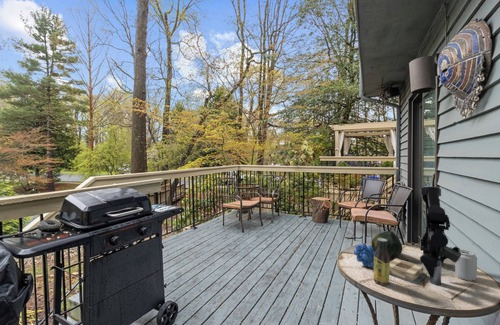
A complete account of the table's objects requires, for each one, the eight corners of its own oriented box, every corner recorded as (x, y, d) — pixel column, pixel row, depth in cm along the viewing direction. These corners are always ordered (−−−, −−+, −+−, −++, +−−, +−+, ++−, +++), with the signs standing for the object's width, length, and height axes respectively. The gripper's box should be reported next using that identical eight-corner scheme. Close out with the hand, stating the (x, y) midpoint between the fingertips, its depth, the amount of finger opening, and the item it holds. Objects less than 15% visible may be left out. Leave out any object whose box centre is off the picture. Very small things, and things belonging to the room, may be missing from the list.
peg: (431, 279, 113) (431, 258, 113) (442, 283, 110) (442, 261, 109) (428, 282, 111) (428, 260, 110) (439, 286, 107) (439, 263, 107)
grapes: (352, 267, 127) (352, 244, 126) (354, 262, 132) (354, 239, 132) (378, 272, 120) (378, 248, 120) (379, 267, 126) (379, 243, 126)
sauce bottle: (370, 279, 114) (370, 236, 114) (383, 278, 115) (383, 236, 114) (379, 287, 108) (379, 242, 107) (392, 286, 108) (393, 241, 108)
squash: (365, 239, 150) (374, 226, 140) (391, 240, 150) (401, 227, 139) (373, 262, 140) (382, 250, 130) (400, 263, 139) (412, 251, 129)
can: (471, 274, 117) (472, 249, 116) (480, 282, 110) (480, 256, 109) (452, 272, 119) (452, 248, 119) (459, 280, 112) (460, 254, 112)
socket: (392, 264, 128) (392, 257, 128) (426, 276, 116) (426, 267, 116) (381, 272, 121) (381, 264, 121) (416, 284, 109) (416, 275, 109)
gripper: (452, 250, 97) (451, 289, 98) (465, 239, 109) (464, 274, 109) (419, 242, 106) (419, 278, 107) (434, 233, 118) (434, 265, 118)
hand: (435, 274), depth 110 cm, fingers open, 9 cm apart
